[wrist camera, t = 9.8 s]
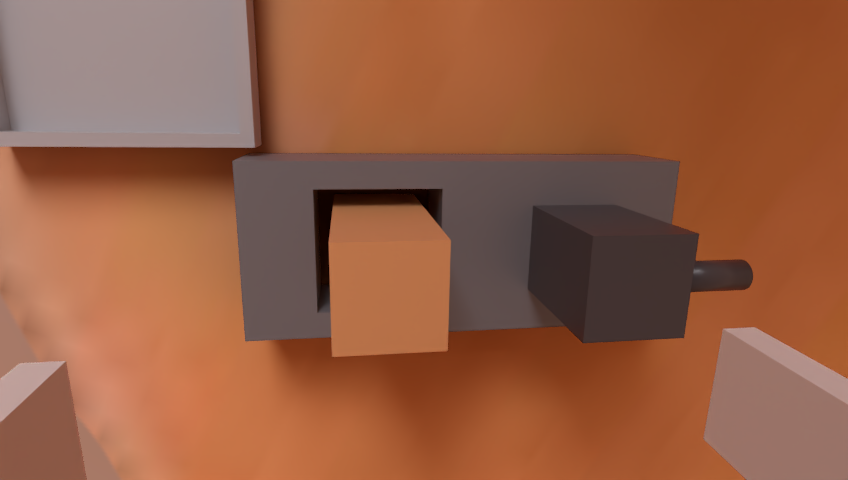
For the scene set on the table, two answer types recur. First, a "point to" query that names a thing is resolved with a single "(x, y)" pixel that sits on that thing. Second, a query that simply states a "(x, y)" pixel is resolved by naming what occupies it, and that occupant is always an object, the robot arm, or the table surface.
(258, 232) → the strip
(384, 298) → the plug
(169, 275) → the table surface
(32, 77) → the tray
